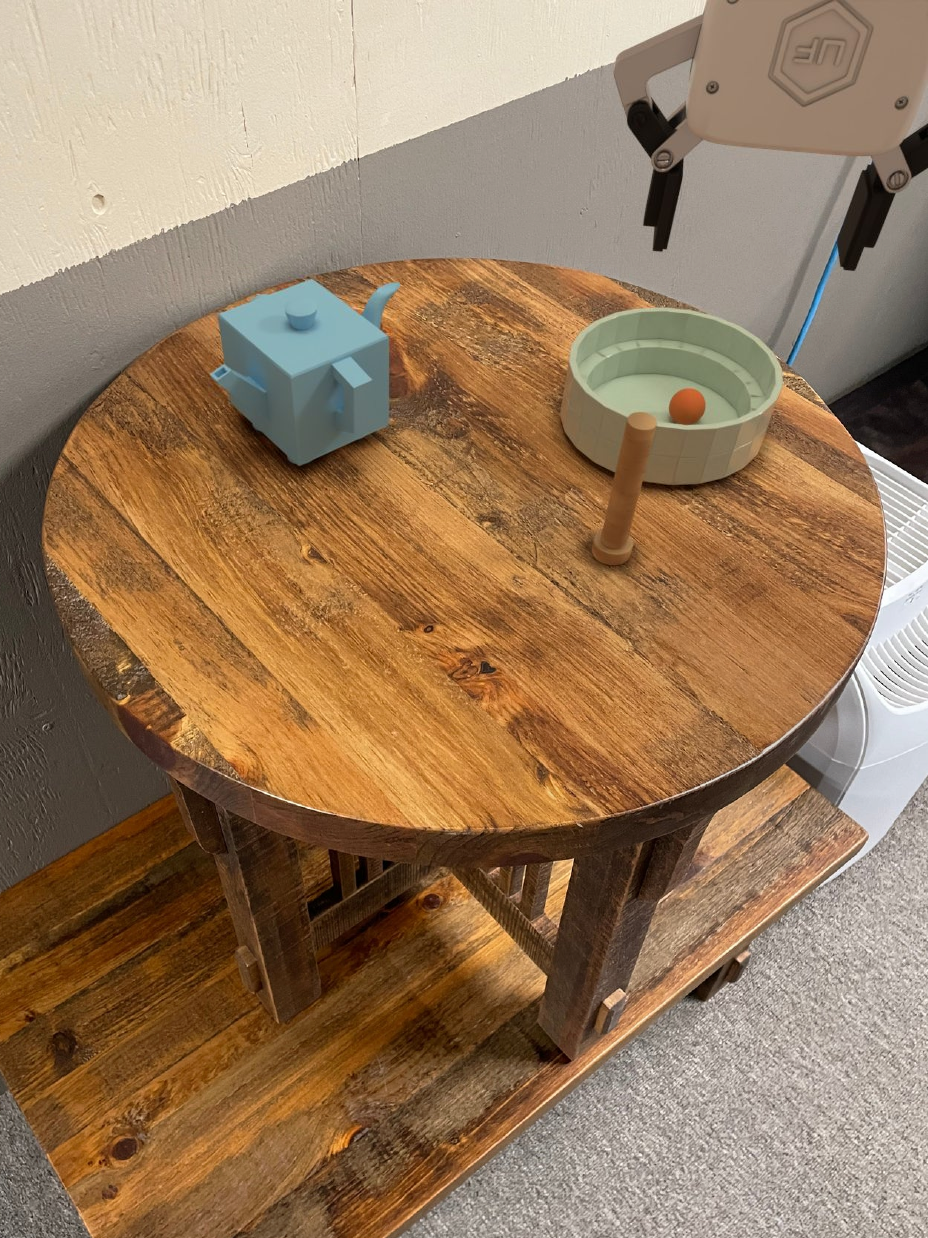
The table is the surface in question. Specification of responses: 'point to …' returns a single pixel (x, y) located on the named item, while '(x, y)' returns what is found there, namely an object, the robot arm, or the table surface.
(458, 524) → the table surface
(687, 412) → the ball
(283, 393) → the teapot
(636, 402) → the bowl
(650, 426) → the rod
